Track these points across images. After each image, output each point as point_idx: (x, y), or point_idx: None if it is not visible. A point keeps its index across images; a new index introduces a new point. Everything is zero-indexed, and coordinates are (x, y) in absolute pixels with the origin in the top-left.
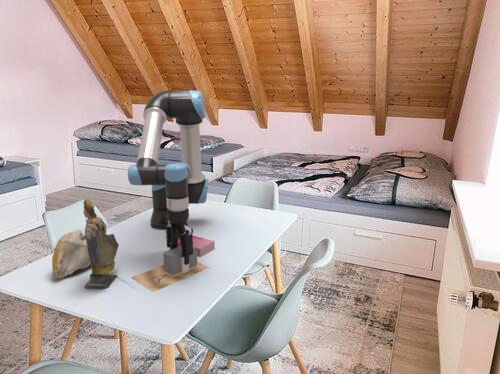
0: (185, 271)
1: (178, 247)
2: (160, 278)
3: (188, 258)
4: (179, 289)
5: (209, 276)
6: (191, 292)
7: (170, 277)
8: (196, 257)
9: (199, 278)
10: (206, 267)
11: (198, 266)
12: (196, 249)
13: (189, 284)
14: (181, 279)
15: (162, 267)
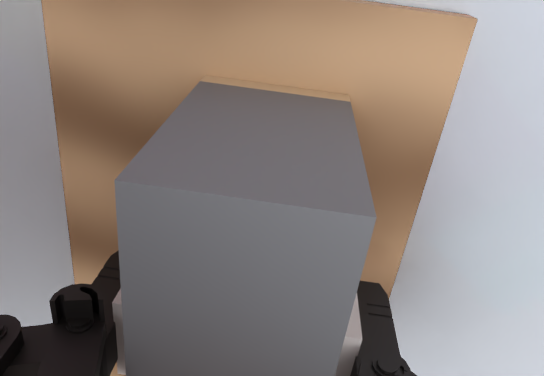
0: None
1: (144, 355)
2: None
3: (393, 343)
4: (431, 362)
5: (541, 118)
6: (533, 353)
7: None
8: (356, 143)
9: (471, 194)
10: (443, 36)
11: (347, 71)
12: (369, 195)
13: (453, 294)
14: None
15: (104, 264)
